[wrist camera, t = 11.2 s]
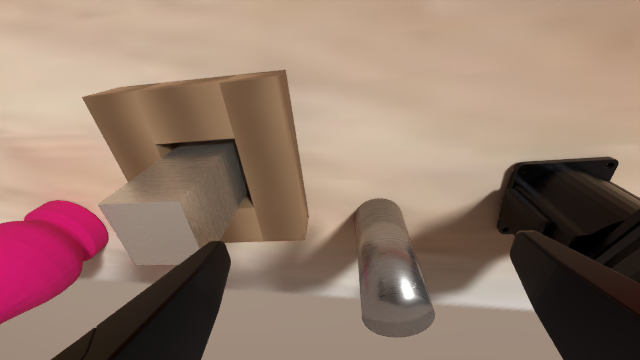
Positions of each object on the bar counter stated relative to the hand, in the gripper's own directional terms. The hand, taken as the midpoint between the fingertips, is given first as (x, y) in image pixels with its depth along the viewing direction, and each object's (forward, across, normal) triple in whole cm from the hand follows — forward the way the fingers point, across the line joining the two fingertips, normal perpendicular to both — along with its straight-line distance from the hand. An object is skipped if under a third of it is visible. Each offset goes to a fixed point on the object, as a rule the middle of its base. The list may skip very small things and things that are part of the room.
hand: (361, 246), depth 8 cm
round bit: (+12, -2, +8) cm, 15 cm away
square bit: (+12, +10, +2) cm, 16 cm away
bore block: (+12, +10, +2) cm, 16 cm away
